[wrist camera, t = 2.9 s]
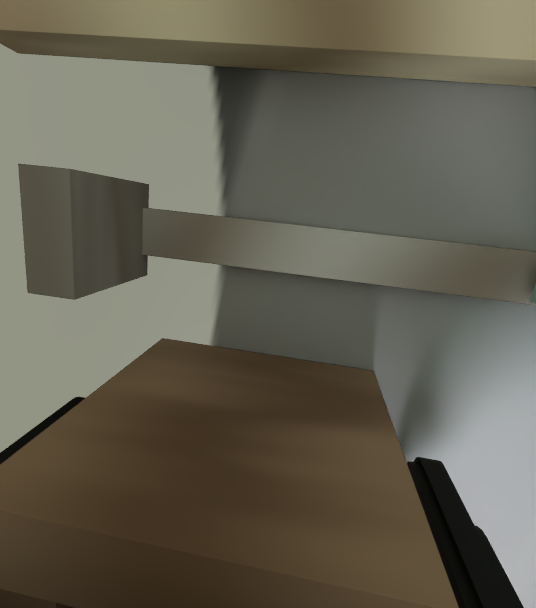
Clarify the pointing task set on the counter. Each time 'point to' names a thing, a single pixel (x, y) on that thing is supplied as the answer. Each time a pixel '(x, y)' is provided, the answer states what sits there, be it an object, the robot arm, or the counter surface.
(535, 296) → the bar
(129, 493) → the block
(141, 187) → the seat
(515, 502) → the counter surface
